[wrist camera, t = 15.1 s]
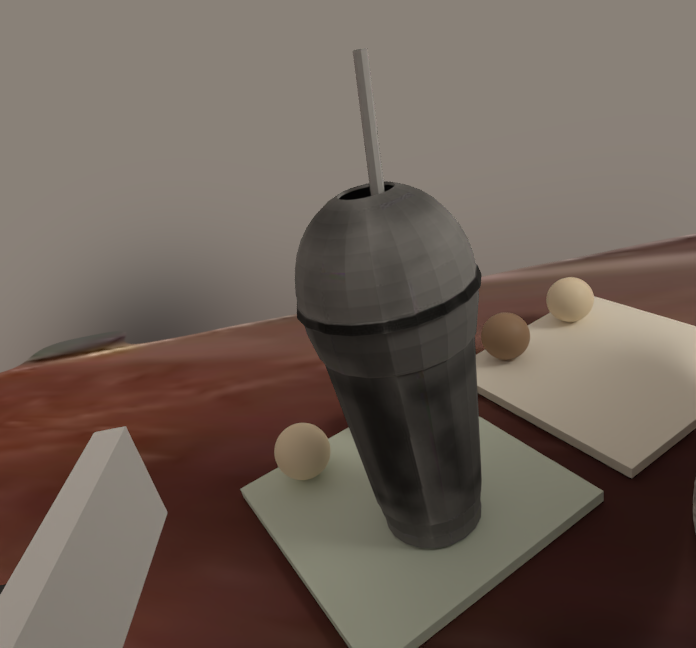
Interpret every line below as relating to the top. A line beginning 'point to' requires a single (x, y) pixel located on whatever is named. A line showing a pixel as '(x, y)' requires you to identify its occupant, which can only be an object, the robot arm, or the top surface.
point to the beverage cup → (399, 342)
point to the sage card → (391, 553)
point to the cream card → (594, 375)
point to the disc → (694, 505)
